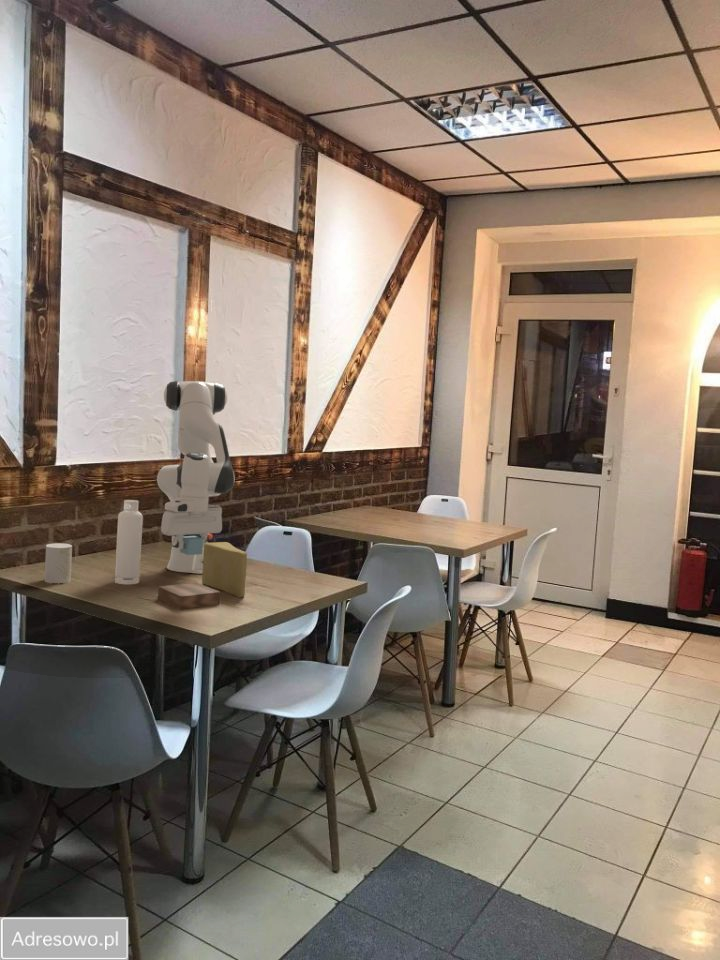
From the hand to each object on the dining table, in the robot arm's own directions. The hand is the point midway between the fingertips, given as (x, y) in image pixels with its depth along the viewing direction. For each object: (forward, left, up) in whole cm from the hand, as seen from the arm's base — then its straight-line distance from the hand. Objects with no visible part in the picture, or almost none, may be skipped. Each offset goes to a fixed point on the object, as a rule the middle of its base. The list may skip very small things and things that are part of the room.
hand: (191, 548), depth 250 cm
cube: (0, 0, -2) cm, 2 cm away
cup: (+25, -42, -18) cm, 52 cm away
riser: (0, 0, -17) cm, 17 cm away
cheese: (-20, -8, -18) cm, 28 cm away
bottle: (+5, -32, -18) cm, 37 cm away
